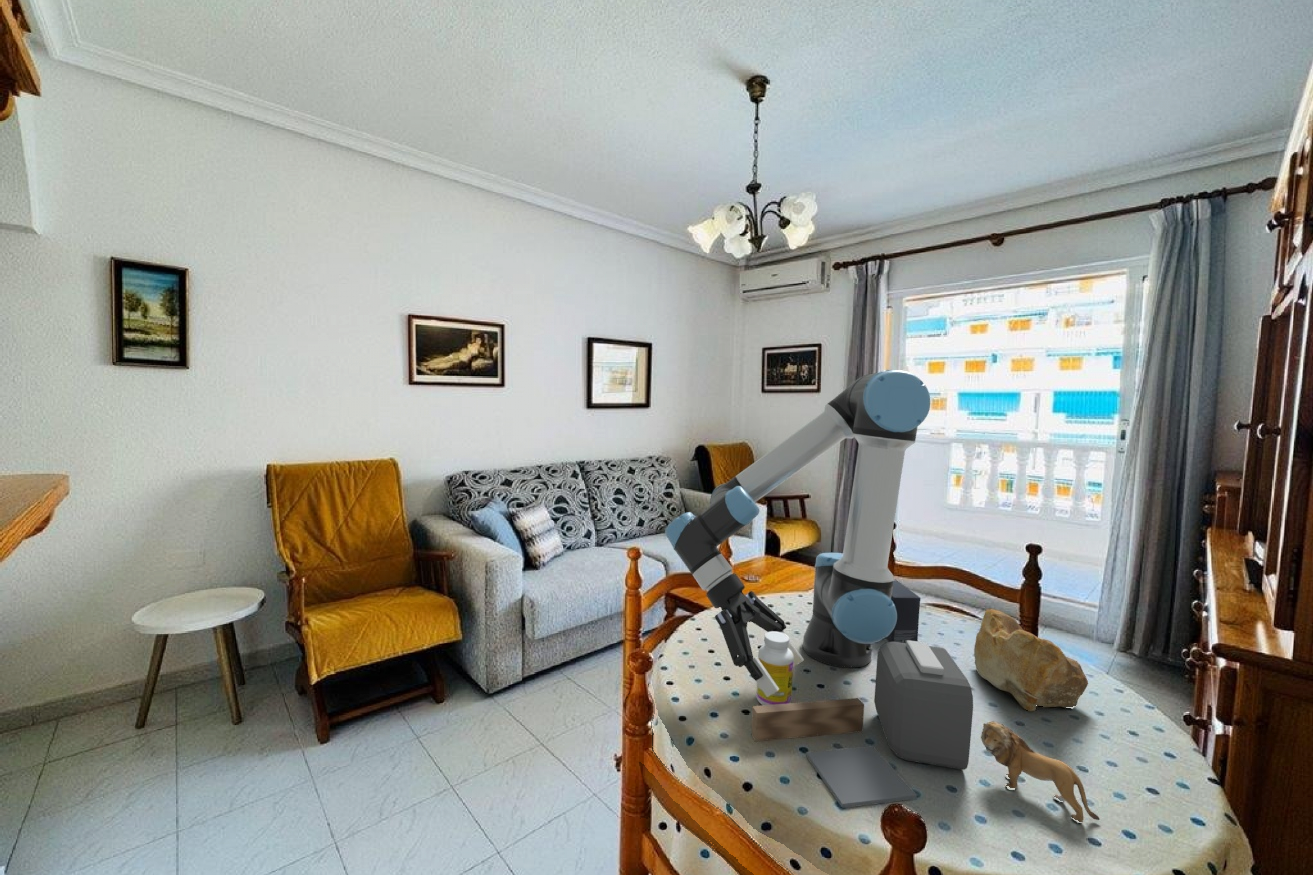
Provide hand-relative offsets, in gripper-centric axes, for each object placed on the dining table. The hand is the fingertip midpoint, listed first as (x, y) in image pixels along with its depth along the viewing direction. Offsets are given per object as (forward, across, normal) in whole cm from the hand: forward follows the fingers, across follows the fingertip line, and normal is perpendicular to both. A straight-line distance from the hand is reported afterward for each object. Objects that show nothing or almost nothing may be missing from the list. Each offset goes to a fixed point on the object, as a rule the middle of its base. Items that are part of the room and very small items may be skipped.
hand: (786, 677), depth 98 cm
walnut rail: (+8, +6, 0) cm, 10 cm away
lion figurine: (+31, 0, +23) cm, 38 cm away
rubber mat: (+15, +11, +8) cm, 20 cm away
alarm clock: (+19, -4, +11) cm, 23 cm away
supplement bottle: (+2, 0, -6) cm, 6 cm away
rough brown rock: (+32, -35, +24) cm, 53 cm away
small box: (+11, -48, +3) cm, 50 cm away
